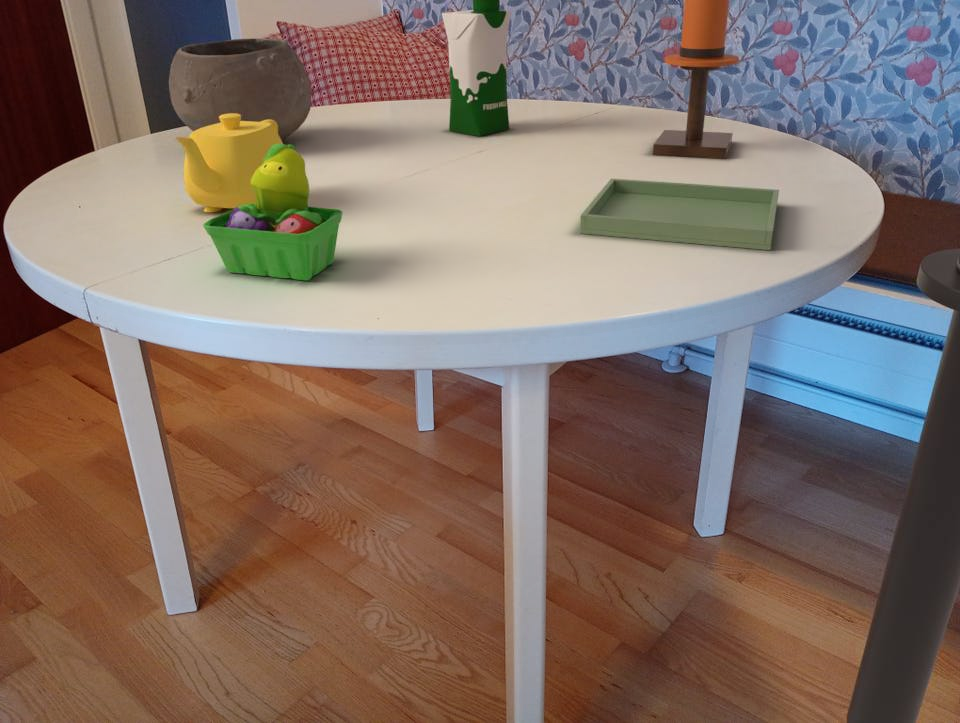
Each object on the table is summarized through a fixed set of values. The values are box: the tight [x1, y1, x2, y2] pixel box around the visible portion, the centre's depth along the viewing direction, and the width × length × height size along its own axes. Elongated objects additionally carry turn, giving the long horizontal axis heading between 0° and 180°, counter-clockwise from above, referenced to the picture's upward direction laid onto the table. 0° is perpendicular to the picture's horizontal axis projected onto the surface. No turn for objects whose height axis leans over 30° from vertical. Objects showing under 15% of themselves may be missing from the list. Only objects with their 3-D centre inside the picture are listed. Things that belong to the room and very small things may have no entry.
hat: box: [663, 0, 740, 67], centre depth 112 cm, size 10×10×9 cm
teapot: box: [174, 113, 284, 213], centre depth 96 cm, size 18×11×11 cm, turn 159°
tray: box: [579, 178, 780, 251], centre depth 90 cm, size 19×15×2 cm
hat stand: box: [652, 66, 733, 160], centre depth 117 cm, size 10×10×12 cm
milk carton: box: [441, 0, 512, 137], centre depth 130 cm, size 9×9×20 cm
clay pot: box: [168, 38, 312, 141], centre depth 126 cm, size 21×21×15 cm
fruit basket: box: [202, 143, 343, 281], centre depth 78 cm, size 11×9×11 cm
